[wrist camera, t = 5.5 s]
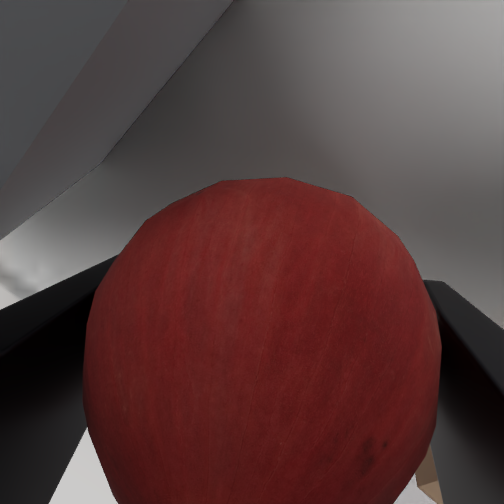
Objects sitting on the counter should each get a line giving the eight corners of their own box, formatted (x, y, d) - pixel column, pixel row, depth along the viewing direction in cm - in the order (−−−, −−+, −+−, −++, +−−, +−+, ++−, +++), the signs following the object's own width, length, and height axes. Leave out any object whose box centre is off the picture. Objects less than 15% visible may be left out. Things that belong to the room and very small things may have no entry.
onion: (397, 330, 11) (489, 813, 5) (195, 328, 13) (40, 711, 6) (411, 112, 8) (708, 570, 2) (146, 135, 10) (-274, 464, 3)
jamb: (245, -14, 9) (137, -15, 4) (99, 164, 12) (-70, 293, 7) (175, -97, 9) (-49, -216, 4) (40, 111, 11) (-192, 209, 6)
